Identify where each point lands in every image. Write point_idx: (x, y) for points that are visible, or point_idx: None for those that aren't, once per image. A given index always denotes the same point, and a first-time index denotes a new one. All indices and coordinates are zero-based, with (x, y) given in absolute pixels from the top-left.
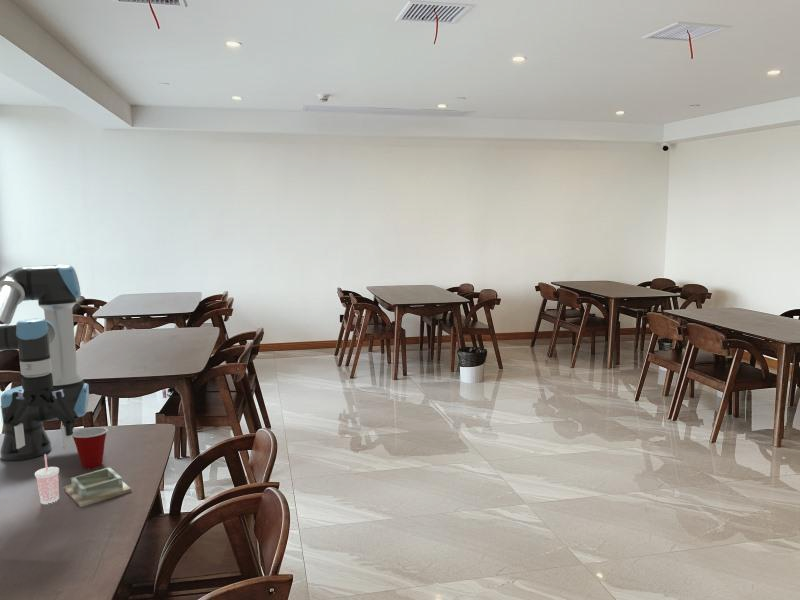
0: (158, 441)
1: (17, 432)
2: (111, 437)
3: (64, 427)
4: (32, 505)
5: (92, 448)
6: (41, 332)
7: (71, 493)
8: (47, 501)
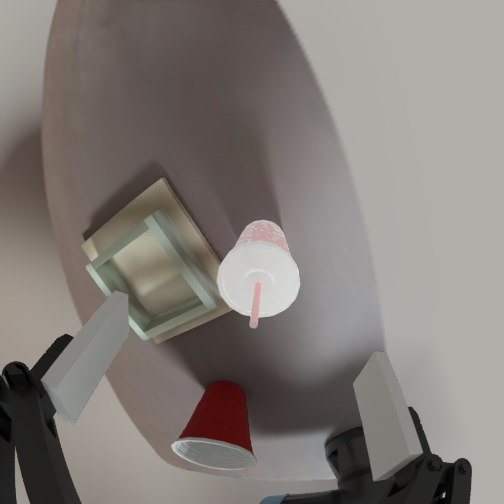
0: (149, 431)
1: (399, 422)
2: None
3: (48, 374)
4: (302, 222)
5: (203, 415)
6: None
7: (208, 254)
8: (261, 221)
